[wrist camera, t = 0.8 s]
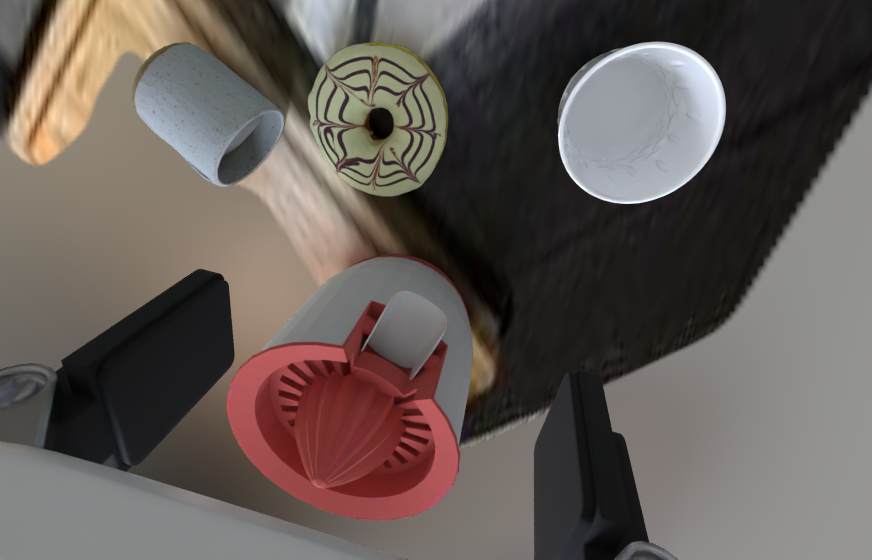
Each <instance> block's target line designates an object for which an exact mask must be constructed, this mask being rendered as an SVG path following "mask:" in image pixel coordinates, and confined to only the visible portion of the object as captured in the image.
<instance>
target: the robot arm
mask: <svg viewBox="0 0 872 560" xmlns="http://www.w3.org/2000/svg"><path fill="white" fill-rule="evenodd" d="M233 361H234V343H233V331H232V319H231V307H230V295H229V285H228V283H227V282H226V281H224V277H223V276H222V275H221V274H219V273H215V272H211V271H207V270H203V269H198V270H196V271H194V272H193V273H191V274H190V275H188V276H187V277H185V278H184V279H182V280H181V281H179V282H178V283H176V284H175V285H173V286H172V287H170V288H169V289H167V290H166V291H164V292H163V293H161V294H160V295H158V296H157V297H155V298H154V299H152V300H151V301H149V302H148V303H146V304H145V305H143V306H142V307H140V308H139V309H138V310H136V311H134V312H133V313H132V314H130V315H128V316H127V317H125V318H124V319H122V320H121V321H119V322H118V323H116V324H115V325H114V326H112V327H111V328H109V329H108V330H106V331H105V332H103V333H102V334H100V335H99V336H97V337H96V338H94V339H93V340H91V341H90V342H88V343H87V344H85V345H84V346H82V347H81V348H79V349H78V350H76V351H75V352H73V353H72V354H70V355H69V356H67V357H66V358H64V359H63V360H62V364H63V367H62V368H60V369H59V370H57V371H56V372H55V371H54V370H53V369H52V368H51V367H48V366H46V365H42V364H32V363H31V364H20V365H15V366H11V367H6V368H3V369H0V560H408V559H405V558H401V557H398V556H395V555H392V554H389V553H386V552H382V551H379V550H376V549H373V548H370V547H367V546H364V545H360V544H357V543H354V542H351V541H348V540H345V539H342V538H338V537H335V536H332V535H329V534H326V533H322V532H319V531H316V530H313V529H309V528H306V527H303V526H300V525H296V524H294V523H290V522H287V521H284V520H281V519H278V518H274V517H271V516H268V515H265V514H262V513H258V512H255V511H252V510H249V509H245V508H242V507H239V506H236V505H232V504H229V503H226V502H223V501H219V500H216V499H213V498H210V497H206V496H203V495H200V494H197V493H193V492H190V491H187V490H184V489H180V488H177V487H174V486H171V485H167V484H164V483H160V482H157V481H154V480H151V479H148V478H144V477H141V476H138V475H134V474H131V473H128V472H127V470H128V469H129V468H130V467H131V466H132V465H133V466H135V465H138V464H139V463H141V462H142V461H143V460H144V459H145V458H146V457H147V456H148V455H149V454H150V452H152V450H153V449H154V448H155V447H156V446H157V445H158V444H159V443H160V442H161V441H162V440H163V439H164V438H165V437H166V435H167V434H168V433H169V432H170V431H171V430H172V429H173V428H174V427H175V426H176V425H177V424H178V423H179V422H180V421H181V419H182V418H183V417H184V416H185V415H186V414H187V413H188V412H189V411H190V410H191V409H192V408H193V407H194V406H195V405H196V404H197V402H198V401H199V400H200V399H201V398H202V397H203V396H204V395H205V394H206V393H207V392H208V391H209V390H210V389H211V387H212V386H213V385H214V384H215V383H216V382H217V381H218V380H219V379H220V378H221V377H222V376H223V374H224V373H225V372H226V371H227V370H228V369H229V368H230V367H231V365H232V363H233ZM534 560H678V559H677V558H676V557H674V556H673V555H672V554H670V553H669V552H668V551H666V550H665V549H663V548H661V547H659V546H657V545H655V544H653V543H649V540H648V536H647V531H646V527H645V523H644V518H643V514H642V510H641V506H640V501H639V497H638V493H637V489H636V484H635V480H634V476H633V472H632V467H631V463H630V459H629V454H628V450H627V446H626V442H625V439H624V437H623V436H622V435H621V434H619V433H616V432H612V428H611V423H610V419H609V414H608V409H607V404H606V400H605V394H604V389H603V384H602V379H601V376H600V374H598V373H594V372H591V371H587V370H583V369H579V368H576V369H575V371H574V372H573V373H572V372H567V373H566V374H565V376H564V379H563V381H562V383H561V385H560V388H559V390H558V392H557V395H556V397H555V399H554V401H553V404H552V406H551V408H550V411H549V413H548V415H547V417H546V420H545V422H544V425H543V427H542V429H541V431H540V434H539V436H538V438H537V441H536V444H535V450H534Z"/></svg>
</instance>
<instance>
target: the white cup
mask: <svg viewBox="0 0 872 560" xmlns="http://www.w3.org/2000/svg"><path fill="white" fill-rule="evenodd" d="M725 114H726V102H725V95H724V90H723V87H722V84H721V81H720V79H719V77H718V75H717V73H716V72H715V70H714V69H713V67H712V66H711V65H710V64H709V63H708V62H707V61H706V60H705V59H704V58H703V57H702V56H700V55H699V54H698V53H696V52H695V51H693V50H691V49H689V48H687V47H684V46H681V45H678V44H674V43H668V42H645V43H640V44H635V45H631V46H627V47H623V48H619V49H615V50H612V51H610V52H607V53H605V54H602V55H600V56H598V57H596V58H594V59H593V60H590V61H589V62H587V63H586V64H585V65H584V66H583V67H582V68H581V69H580V70H579V71H578V72H577V73H575V74H574V75H573V76H572V77H571V78H570V80H569V82H568V85H567V87H566V89H565V91H564V93H563V95H562V97H561V100H560V106H559V112H558V139H559V149H560V154H561V158H562V161H563V163H564V166H565V168H566V170H567V172H568V173H569V175H570V176H571V178H572V179H573V180H574V181H575V182H576V183H577V184H578V185H579V186H580V187H581V188H582V189H583V190H585V191H586V192H588V193H589V194H591V195H593V196H595V197H597V198H599V199H602V200H605V201H609V202H614V203H623V204H631V203H641V202H646V201H650V200H654V199H657V198H660V197H662V196H665V195H667V194H669V193H671V192H673V191H674V190H676V189H678V188H679V187H681V186H682V185H684V184H685V183H686V182H688V181H689V180H690V179H691V178H692V177H694V176H695V175H696V174H697V173H698V172H699V171H700V170H701V168H702V167H703V166H704V165H705V164H706V162H707V161H708V160H709V158H710V157H711V155H712V153H713V152H714V150H715V148H716V146H717V144H718V142H719V139H720V137H721V134H722V131H723V127H724V122H725Z"/></svg>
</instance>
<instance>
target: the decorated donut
mask: <svg viewBox="0 0 872 560" xmlns="http://www.w3.org/2000/svg"><path fill="white" fill-rule="evenodd" d="M308 108H309V112H310V115H311V119H310V123H309V125H310V128H311V130H312V132H313V135H314V137H315V138H316V140H317V144H318V147H319V149H320V151H321V153H322V155H323V157H324V159H325V160H326V162H327V163H328V165H329V166H330V167H331V168H332V169H333V170H334V171H335V172H336V174H337V175H338V176H339V177H341V178H342V179H343V180H344V181H345V182H346V183H348V184H349V185H351V186H353V187H355V188H357V189H359V190H361V191H364V192H367V193H369V194H374V195H379V196H396V195H400V194H402V193H405V192H409V191H411V190H414V189H417V188H419V187H420V186H421V185H422V184H423V183H424V182H425V181H426V179H427V178H428V177H429V176H430V175H431V174H432V172H433V170H434V168H435V166H436V164H437V163H438V161H439V159H440V157H441V155H442V152H443V149H444V147H445V143H446V138H447V127H448V111H447V108H448V107H447V101H446V98H445V95H444V92H443V90H442V87H441V86H440V84H439V82H438V80H437V79H436V77H435V75H434V74H433V72H432V71H431V70H430V68H429V67H428V66H427V65H426V63H425V62H424V61H423V60H422V59H421V58H420V57H419V56H417V55H416V54H415V53H414V52H412V51H411V50H409V49H406V48H404V47H401V46H397V45H393V44H385V43H376V42H372V43H362V44H356V45H352V46H349V47H346V48H343V49H341V50H339V51H337V52H336V53H335V54H334V55H333V56H332V57H331V58H330V59H329V60H327V61H326V62H325V64H324V65H323V67H322V68H321V69H320V72H319V74H318V76H317V78H316V80H315V84H314V86H313V89H312V91H311V93H310V94H309V96H308ZM374 108H385V109H387V110H389V111H390V113H391V114H392V116H393V120H394V129H393V131H392V133H391V134H390V135H389V137H387V138H385V139H379V138H378V137H376V136H375V135H374V134H373V133H374V132H373V131H371V128H370V127H369V115H370V112H371V111H372V110H373V109H374Z"/></svg>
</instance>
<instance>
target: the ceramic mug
mask: <svg viewBox="0 0 872 560" xmlns="http://www.w3.org/2000/svg"><path fill="white" fill-rule="evenodd" d="M132 101H133V104H134V108H135V110H136V111H137V113H138V114H139V116H140V117H141V118H142V119H143V121H144V122H145V123H146V124H147V125H148V126H149V127H150V128H151V129H152V130H153V131H154V132H155V133H156V134H157V135H159V136H160V137H161V138H162V139H164V140H165V141H166V142H167V143H169V144H170V145H171V146H172V147H173V148H175V149H176V150H177V151H178V152H179V153H180V154H181V155H182V156H183V157H184V159H185V160H186V161H187V162H188V164H189V165H190V166H191V167H192V168H193V169H194V170H195V171H196V172H197V173H198V174H200V175H201V176H202V177H203V178H205V179H206V180H208V181H210V182H211V183H213V184H216V185H219V186H225V187H227V186H230V185H234V184H236V183H238V182H240V181H241V180H243V179H244V178H246V177H247V176H249V175H250V174H251V173H252V172H253V171H254V170H256V169H257V168H258V167H259V166H260V165H261V164H262V163H263V162H264V160H265V159H266V158H267V157H268V156H269V154H270V152H271V151H272V149H273V148H274V147H275V145H276V144H277V142H278V140H279V138H280V135H281V133H282V130H283V127H284V114H283V112H282V111H281V109H280V108H279V107H278V106H276V105H275V104H274V103H272V102H271V101H270V100H268V99H267V98H266V97H265V96H263V95H262V94H261V93H260V92H259V91H257V90H256V89H255V88H254V87H252V86H251V85H250V84H248V83H247V82H246V81H245V80H243V79H242V78H241V77H239V76H238V75H237V74H236V73H234V72H233V71H232V70H230V69H229V68H228V67H227V66H226V65H225V64H224V63H223V62H221V61H220V60H219V59H217V58H216V57H214V56H213V55H212V54H210V53H209V52H207V51H205V50H203V49H201V48H200V47H198V46H196V45H193V44H190V43H174V44H171V45H168V46H165V47H163V48H161V49H160V50H158V51H156V52H155V53H154V54H152V55H151V56H150V57H149V58H148V59H147V60H146V61H145V62H144V64H143V65H142V66H141V67H140V69H139V71H138V73H137V75H136V77H135V79H134V83H133V89H132Z"/></svg>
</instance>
